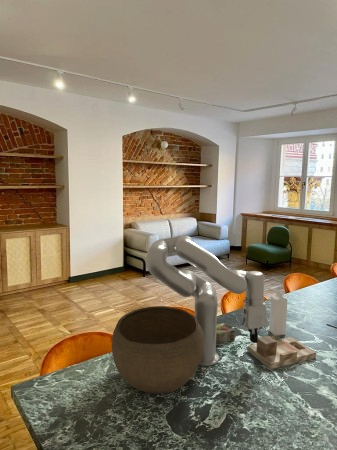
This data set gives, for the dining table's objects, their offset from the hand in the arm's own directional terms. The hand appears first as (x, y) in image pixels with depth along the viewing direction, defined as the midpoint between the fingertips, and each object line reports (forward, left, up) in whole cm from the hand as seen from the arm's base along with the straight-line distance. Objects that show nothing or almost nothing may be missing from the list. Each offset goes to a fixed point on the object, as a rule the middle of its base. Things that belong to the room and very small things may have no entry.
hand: (253, 341), depth 145 cm
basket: (-43, +2, -10) cm, 45 cm away
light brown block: (+7, 0, -7) cm, 10 cm away
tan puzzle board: (+16, 0, -9) cm, 18 cm away
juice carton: (-6, +23, -10) cm, 26 cm away
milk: (+28, +18, -10) cm, 35 cm away
